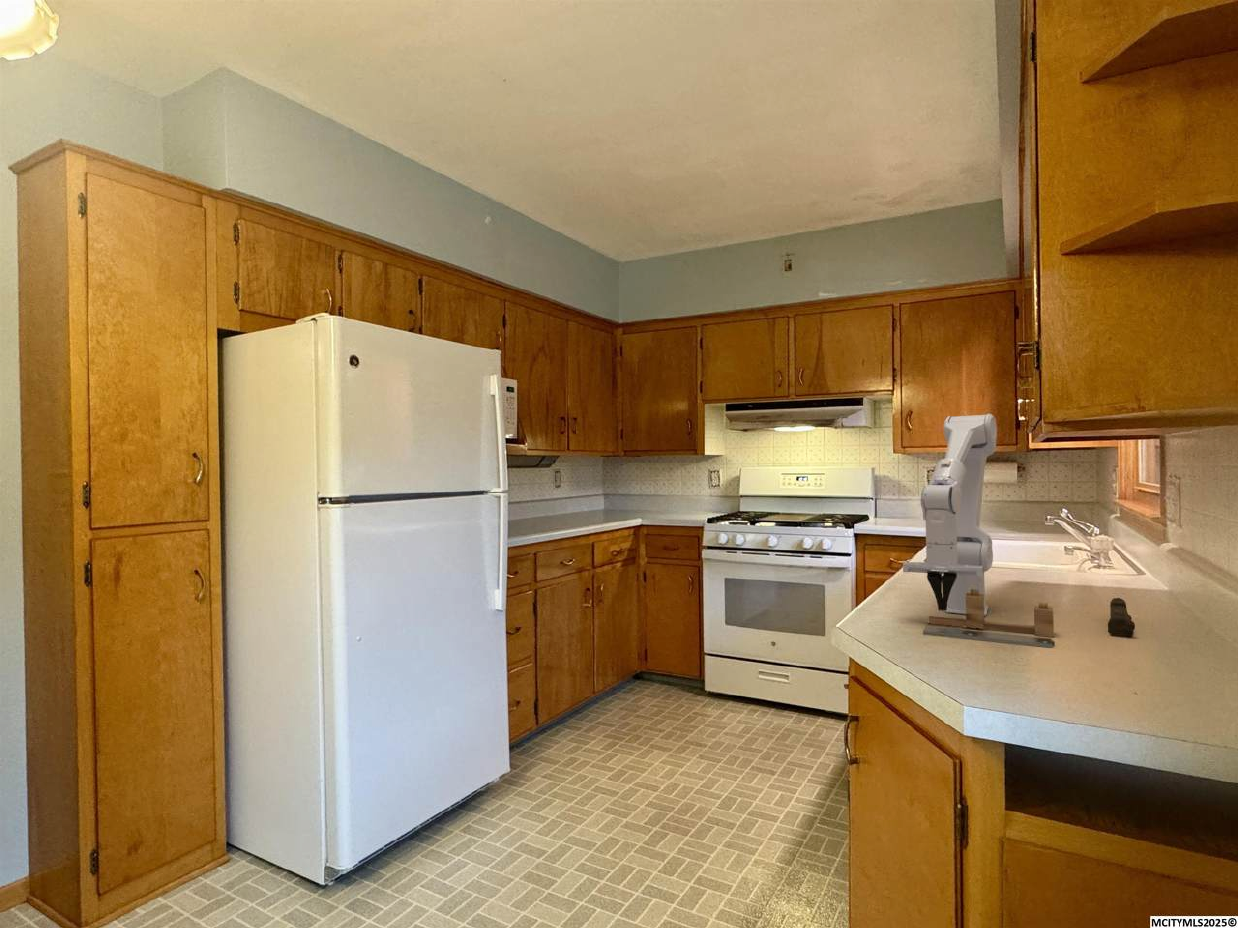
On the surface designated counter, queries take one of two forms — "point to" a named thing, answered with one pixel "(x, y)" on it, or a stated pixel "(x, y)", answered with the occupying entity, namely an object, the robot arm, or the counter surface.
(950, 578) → the robot arm
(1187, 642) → the counter surface
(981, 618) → the sliding head
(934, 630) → the steel strip
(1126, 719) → the counter surface
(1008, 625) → the bar
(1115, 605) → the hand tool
